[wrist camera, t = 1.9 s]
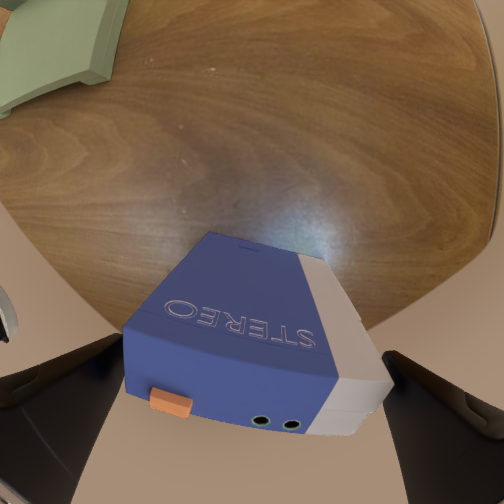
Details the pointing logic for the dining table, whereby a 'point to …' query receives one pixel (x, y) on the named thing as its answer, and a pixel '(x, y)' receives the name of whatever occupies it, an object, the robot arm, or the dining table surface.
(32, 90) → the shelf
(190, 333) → the walkman
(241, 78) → the dining table surface
